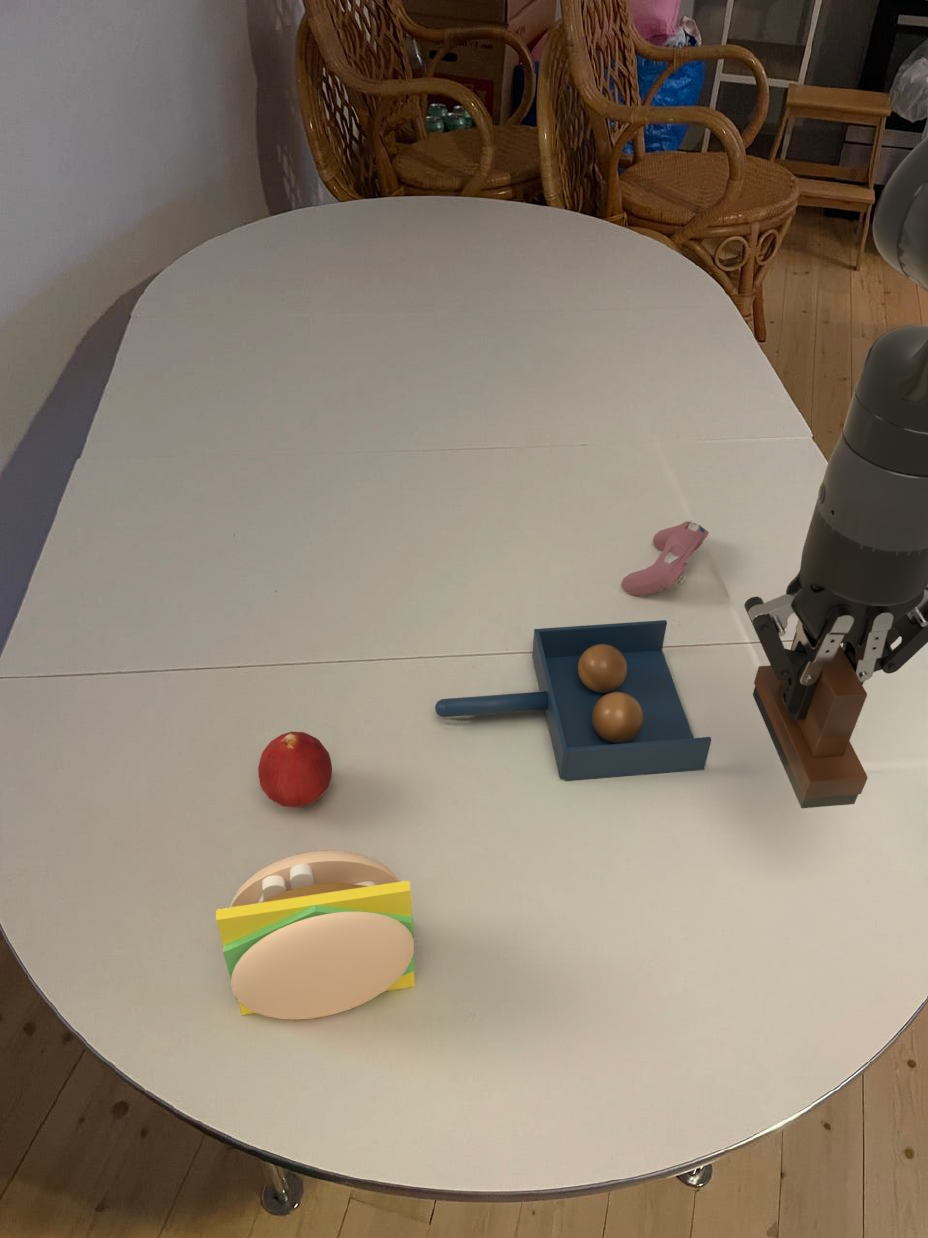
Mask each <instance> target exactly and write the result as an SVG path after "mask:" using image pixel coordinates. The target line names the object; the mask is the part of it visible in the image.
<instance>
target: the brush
mask: <svg viewBox="0 0 928 1238" xmlns="http://www.w3.org/2000/svg"><path fill="white" fill-rule="evenodd" d="M795 639H796V632H794V637H793V639H792V642H791V645H790V649H789V650H791V648H792V645H793V643H794V641H795ZM753 684H754V689H753V691H752V697H753V699H754V702H755V704H756V706H757V709H758V711H759V713H760V716H761V718H762V720H763V723H764V725H765V726H766V729H767V732H768V734H769V736H770V738H771V741H772V743H773V746H774V748H775V750H776V752H777V755H778V757H779V759H780V762H781V764H782V767H783V769H784V772H785V774H786V776H787V779H788V781H789V783H790V785H791V788H792V790H793V792H794V794H795V797H796V800H797V802H798V805H799V807H800V808H801V809H813V808H823V807H825V808H826V807H835V806H848V805H849V806H850V805H855V804H856V801H857V799H858V797H859V795H862V793H863V790H864V788H865V786H866V783H867V781H868V779H869V777H868V775H867V773H866V771H865V769H864V766H863V765H862V763H861V761H860V759H859V757H858V755H857V753H856V751H855V749H854V746H853V745H852V743H851V738H852V735H853V732H854V730H855V728H856V725H857V723H858V720H859V717H860V714H861V712H862V710H863V707H864V705H865V702H866V699H867V697H868V693H867V691H866V690H865V687H864V686H863V685H862V684H861V682H860V680H859V678H858V676H857V675H856V673H855V671H854V669H853V667H852V665H851V663H850V662H849V660H848V658H847V656H846V654H845V652H844V651H843V649H842V645H841V644H840V646H839V648H838V650H837V652H836V654H835V656H834V658H833V660H832V662H830V663H825V666H824V668H823V670H822V672H821V674H820V676H819V678H818V680H817V681H816V684H817V686H816V689H815V692H814V695H813V698H812V701H811V704H810V707H809V710H808V713H807V716H806V718H805V719H803V720H794V719H793V717H792V715H791V713H788V712H787V709H786V707H785V705H784V703H783V701H782V698H781V694H780V693H781V690H782V687H783V684H784V681H781V680H778V679H777V678H776V675H775V673H774V671H773V669H772V667H771V665H758V668H757V671H756V674H755V678H754V681H753Z"/></svg>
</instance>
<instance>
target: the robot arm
mask: <svg viewBox="0 0 928 1238" xmlns="http://www.w3.org/2000/svg"><path fill="white" fill-rule="evenodd" d="M872 238H873V242H874V245H875V247H876V249H877V251H878V253H879V255H880V256H881V257H882V259H883V260H884V261H885V262H886V263H887V264H888V266H890V267H891V268H892V269H894V270H895V271H897V273H898V274H900V275H902V276H903V277H905V278H907V279H908V280H909V281H911V282H912V283H914V284H916V285H917V286H918V287H920V288H921V289H923V290H924V291H925V292H927V293H928V135H927V136H926V137H925V138H924V139H923V140H922V141H920V142H919V143H918V144H917V145H916V146H915V147H914V148H913V149H912V150H911V151H910V152H909V153H908V154H907V155H906V156H905V157H904V158H903V160H902V161H901V162H900V164H899V165H898V166H897V167H896V168H895V169H894V171H893V172H892V174H891V176H890V177H889V178H888V180H887V182H886V184H885V185H884V187H883V189H882V191H881V193H880V196H879V197H878V200H877V202H876V205H875V210H874V214H873V220H872ZM840 432H841V433H840V436H839V437H838V440H837V442H836V444H835V446H834V448H833V450H832V453H831V454H830V457H829V459H828V462H827V465H826V468H825V472H824V475H823V479H822V482H821V484H820V486H819V488H818V493H817V499H816V502H815V506H814V510H813V513H812V516H811V520H810V523H809V526H808V531H807V533H806V536H805V537H806V538H805V540H804V543H803V546H802V547H803V548H802V553H801V559H800V560H801V561H800V568H799V571H798V573H797V574H796V575H795V577H794V578H793V579H792V580H791V581H790V582H789V583H788V585H787V587H786V591H785V594H782V595H780V596H778V597H775V598H774V599H771V600H768V601H766V602H764V600H763V599H762V597H760V596H752V597H750V598H748V599H747V600H746V601H745V603H744V606H743V607H744V610H745V611H746V613H747V616H748V618H749V620H750V622H751V625H752V627H753V630H754V631H755V633H756V636H757V639H758V640H759V642H760V645H761V647H762V649H763V652H764V653H765V656H766V659H767V661H768V662H769V664H770V665H771V667H772V669H773V671H774V673H775V675H776V678H777V679H778V680H781V681H784V684H783V687H782V690H781V693H780V694H781V698H782V701H783V703H784V705H785V707H786V709H787V712H788V713H791V715H792V717H793V719H794V720H803V719H805V718H806V716H807V713H808V710H809V707H810V704H811V701H812V698H813V695H814V692H815V689H816V686H817V684H816V681H817V680H818V678H819V676H820V674H821V672H822V670H823V668H824V666H825V663H830V662H832V660H833V658H834V656H835V654H836V652H837V650H838V648H839V646H840V645H841V644H842V645H841V647H842V649H843V651H844V652H845V654H846V656H847V658H848V660H849V662H850V663H851V665H852V667H853V669H854V671H855V673H856V675H857V676H858V678H859V680H860V682H861V684H862V686H863V685H864V683H865V682H866V681H868V680H870V679H871V678H872V677H873V674H874V673H875V672H878V671H883V672H884V674H894V673H895V672H898V671H899V670H900V669H901V668H902V667H904V665H905V664H907V662H909V660H911V659H912V657H914V656H915V655H916V654H917V653H919V651H920V650H921V649H922V648H923V647H925V646H926V645H927V644H928V325H927V324H910V325H903V326H898V327H895V328H892V329H890V330H888V331H886V332H885V333H883V334H882V335H880V336H879V337H878V338H877V339H875V341H874V342H873V343H872V345H871V347H870V348H869V349H868V351H867V352H866V354H865V357H864V359H863V362H862V364H861V367H860V371H859V374H858V377H857V380H856V383H855V387H854V391H853V392H852V396H851V400H850V402H849V406H848V410H847V414H846V418H845V420H844V424H843V427H842V429H841V431H840ZM793 614H795V616H796V617H797V618H798V621H797V623H796V625H795V633H796V639H795V641H794V643H793V645H792V644H791V646H792V648H791V647H790V649H791V650H790V649H789V648H785V646H784V643H783V641H782V639H781V637H784V636H785V635H786V630H785V629H787V627H788V619H789V617H790V616H791V615H793ZM900 638H901V641H900V643H899V644H898V645H897V646H896V647H894V648H892V645H893V644H894V643H895V642H896V641H897V640H898V639H900ZM770 665H769V666H770Z"/></svg>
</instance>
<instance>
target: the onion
mask: <svg viewBox="0 0 928 1238" xmlns="http://www.w3.org/2000/svg"><path fill="white" fill-rule="evenodd" d="M260 754H261V755H260V758H259V763H258V766H257V771H258V773H257V774H258V779H259V784H260V788H261V789H262V791H263V793H264V794H265V795H266V796H267V798H268V799H269V800H270V801H272V802H274V803H276V804H278V805H280V806H282V807H288V808H298V807H299V808H300V807H306V806H309V805H310V804H312V803H314V802H317V801H319V799H320V798H321V797H322V796H323V795H324V794H325V792H326V791H327V790H328V789H329V786H330V783H331V780H332V777H333V776H332V775H333V766H332V759H331V755H330V752H329V751H328V750H327V748H326V747H325V746H324V744H323V743H322V742H321V741H320V740H319V738H317V737H315V736H313V735H311V734H309V733H307V732H304V731H288V732H285V733H282V734H280V735H278V736H277V737H275V738H273V739H272V740H270V742H269V743H268V744H267V745H266V746H265V748H264V749H263V750H262V753H260Z"/></svg>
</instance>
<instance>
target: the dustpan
mask: <svg viewBox="0 0 928 1238" xmlns="http://www.w3.org/2000/svg"><path fill="white" fill-rule="evenodd" d="M667 626H668V621H667V620H666V619H662V620H661V619H659V620H647V621H632V622H618V623H617V622H616V623H601V624H588V625H587V624H586V625H572V626H558V627H557V626H556V627H544V628H543V627H542V628H534V629H533V640H532V642H533V643H532V651H531V653H532V654H531V657H532V662H533V667H534V671H535V674H536V679H537V685H538V688H539V691H534V692H519V693H517V692H516V693H504V694H491V695H478V696H477V695H475V696H464V697H451V698H441V699H439V700H438V701H437V702H436V703H435V705H434V710H435V713H436V715H437V716H438V717H440V718H453V717H454V718H455V717H466V716H467V717H469V716H481V715H482V716H483V715H494V714H495V715H496V714H506V713H507V714H509V713H520V712H534V711H535V712H536V711H544V713H545V719H546V724H547V727H548V732H549V736H550V740H551V744H552V750H553V752H554V758H555V764H556V766H557V771H558V775H559V779H560V780H564V782H569V781H582V780H583V781H584V780H594V779H595V780H596V779H606V778H618V777H620V778H621V777H631V776H643V775H644V776H645V775H655V774H657V775H658V774H667V773H668V774H669V773H681V772H682V773H683V772H693V771H703V770H704V771H705V768H706V763H707V759H708V755H709V751H710V748H711V744H712V738H711V736H703V737H694V735H693V734H694V733H693V732H692V729H691V726H690V724H689V721H688V718H687V715H686V712H685V710H684V707H683V704H682V702H681V699H680V696H679V693H678V690H677V688H676V685H675V682H674V679H673V677H672V674H671V670H670V668H669V666H668V662H667V660H666V657H665V654H664V652H663V646H664V641H665V637H666V630H667ZM597 644H607V645H611V646H613V647H615V648H617V649H618V650H619V651H620V652H621V653H622V654H623V656H624V658H625V660H626V663H627V674H626V677H625V680H624V681H623V683H622V684H621V685H620V686H619V687H618V688H617V689H615V690H613V691H611V692H607V693H598V692H594V691H592V690H590V689H588V688H587V687H586V686H585V685H584V684H583V683H582V681H581V679H580V677H579V674H578V663H579V660H580V657H581V655H582V654H583V653H584V652H585V651H586V650H587V649H588V648H590V647H591V646H594V645H597ZM612 692H622V693H626V694H628V695H630V696H632V697H633V698H635V699H636V700H637V701H638V703H639V704H640V706H641V708H642V710H643V715H644V721H643V726H642V729H641V730H640V732H639V734H638V735H637V736H636V737H635V738H634V739H632V740H630V741H628V742H625V743H620V744H617V743H611V742H608V741H606V740H604V739H603V738H601V737H600V736H599V735H598V734H597V732H596V731H595V729H594V727H593V723H592V711H593V708H594V706H595V704H596V703H597V701H598V700H599V699H600V698H602V697H603V696H604V695H606V694H609V693H612ZM605 777H606V778H605Z"/></svg>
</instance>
